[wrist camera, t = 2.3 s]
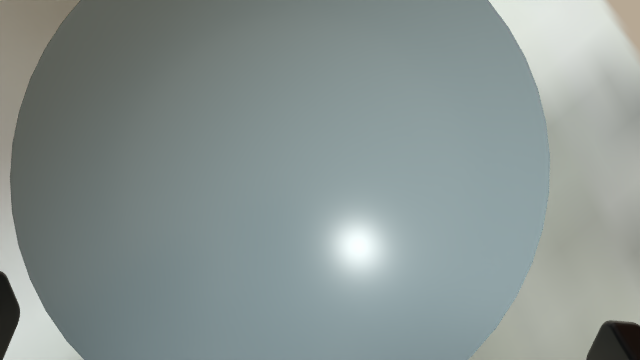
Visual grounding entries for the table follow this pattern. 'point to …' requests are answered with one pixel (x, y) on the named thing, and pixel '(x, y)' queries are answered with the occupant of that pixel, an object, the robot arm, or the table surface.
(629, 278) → the table surface
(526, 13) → the table surface
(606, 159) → the table surface
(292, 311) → the spectacles tube
